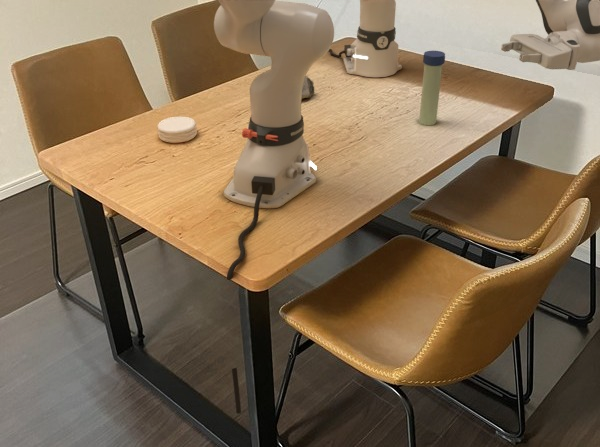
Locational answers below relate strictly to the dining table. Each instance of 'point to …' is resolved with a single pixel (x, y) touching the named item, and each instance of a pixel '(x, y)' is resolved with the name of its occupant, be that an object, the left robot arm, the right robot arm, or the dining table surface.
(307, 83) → the rock
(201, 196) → the dining table surface
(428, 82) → the green bottle
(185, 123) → the white round tin
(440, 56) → the lid
